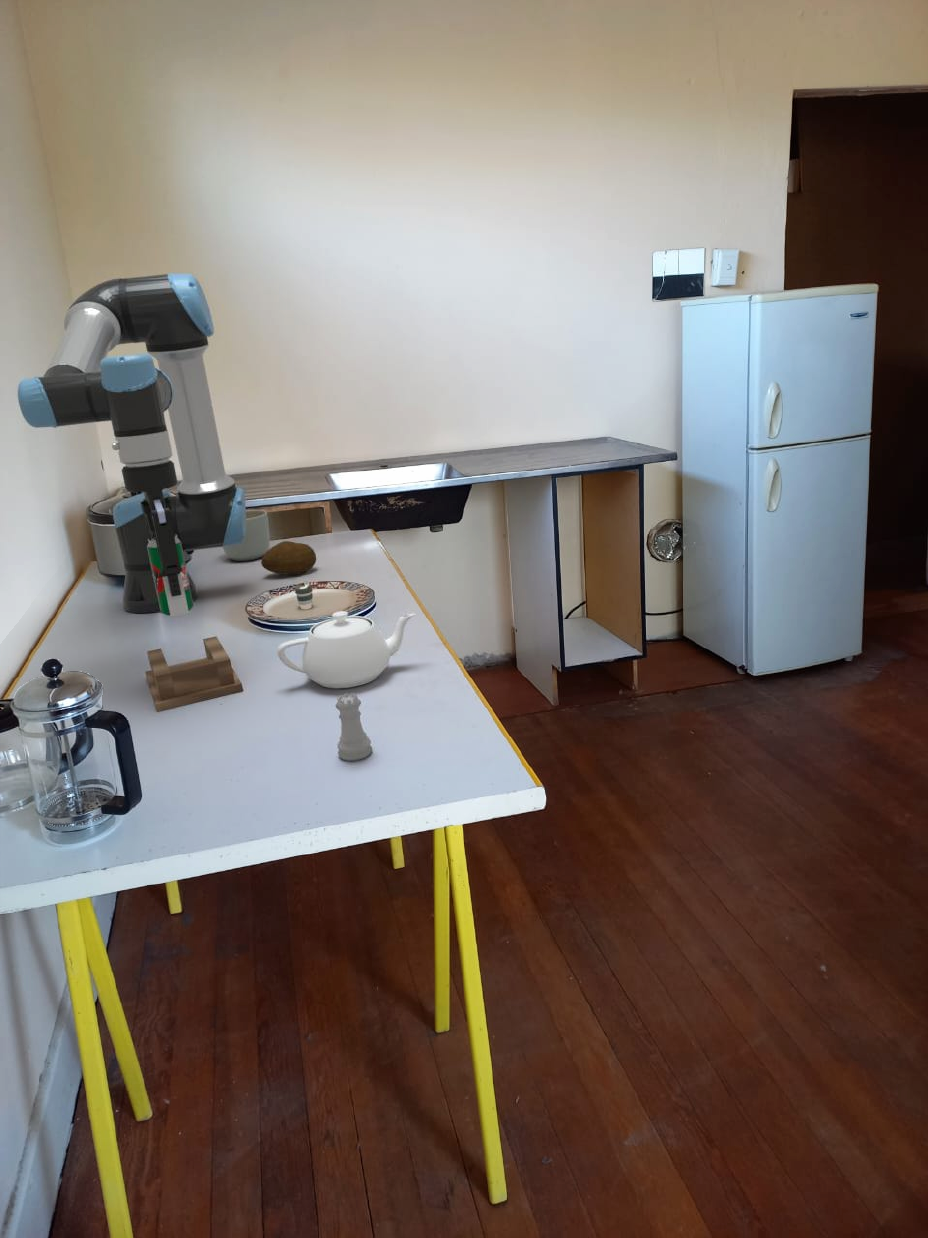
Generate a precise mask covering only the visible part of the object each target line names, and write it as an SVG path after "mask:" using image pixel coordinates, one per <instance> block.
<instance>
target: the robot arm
mask: <svg viewBox="0 0 928 1238" xmlns="http://www.w3.org/2000/svg"><path fill="white" fill-rule="evenodd" d="M63 325H64V334H63V335H62V337H61V339H60V342H59V344H58V346H57V347H56V350H55V352H54V354H53V357H52V358H51V361H50V363H49V364H48V367H47V369H46V371H45V373H44V374H43V376H34V377H31V378H24V379H23V380H21V381H19V384H18V386H17V400H18V405H19V409H20V411H21V414H22V417H23V418H24V420H25V422H26V423H27V424H28V425H29V426H31V427H33V428H37V429H38V428H40V429H41V428H55V429H56V428H59V427H67V426H74V425H76V426H77V425H82V424H92V423H99V422H111V425H112V430H113V435H114V437H115V438H114V439H115V441H116V443H114V442H113V443H112V444H111V447H112V451H118V452H117V453H118V457H119V462H120V463H121V464H123V465H124V466H122V469H121V474H122V478H123V484H124V488H125V490H126V491H127V492H128V493H134V494H135V493H139V494H136V495H133V496H130V497H126V498H124V499H122V500H120V501H118V502H117V503H116V504H115V505H114V506H113V508H112V513H113V516H112V517H113V521H114V522H113V523H114V525H113V526H114V527H113V528H115V532H116V537H117V541H118V545H119V549H120V554H121V559H122V562H123V565H124V566H123V568H124V571H125V575H124V585H123V593H122V603H123V607H124V610H125V611H127V612H128V613H135V614H147V613H148V614H149V613H159V612H161V611H160V607H159V602H158V597H157V592H156V588H155V583H154V578H153V573H152V569H151V564H150V559H149V555H148V550H147V545H148V543H149V541H148V539H149V538H152V537H155V540H156V544H157V549H158V553H159V558H160V562H161V566H162V573H159V574H158V576H159V578H160V577H162V578H163V582H164V587H165V592H166V597H167V602H168V606H169V611H170V617H171V618H173V617H178V616H184V615H187V614H190V611H188V606H187V601H186V596H185V591H184V586H183V581H182V576H181V573H180V572H181V571H182V570H181V569H182V568H181V566H180V562H179V557H178V552H177V547H176V542H175V537H174V534H176V535H177V538H178V539H179V540H180V541H181V544H182V549H183V552H189V551H196V550H204V549H212V548H214V549H215V548H221V547H222V548H223V547H225V546H229V545H235V544H239V543H241V542H242V541H243V540H244V538H245V532H246V510H247V509H246V496H245V491H244V489H243V488H240V487H236V483H235V479H234V478H233V477H231V476H230V475H228V474H227V473H226V472H225V471H226V470H225V466H224V465H225V464H224V460H223V459H224V458H223V455H222V451H221V450H222V449H221V445H220V438H219V434H218V430H217V429H218V427H217V425H216V419H215V414H214V409H213V403H212V398H211V393H210V387H209V382H208V377H207V373H206V367H205V362H204V353H205V352H206V350H207V349H208V347H209V345H210V344H209V340H208V338H210V337H211V336H213V335H214V334H215V328H214V324H213V320H212V314H211V311H210V307H209V304H208V301H207V299H206V295H205V293H204V290H203V288H202V286H201V284H200V282H199V280H198V279H197V277H195V276H194V275H193V274H190V273H165V274H156V275H155V274H154V275H146V276H135V277H127V278H126V277H125V278H112V279H109V280H105V281H103V282H101V283H99V284H97V285H95V286H93V287H91V288H89V289H88V290H87V291H85V292H84V293H82V294H81V295H80V296H79V297H78V298H77V299H76V300H74V302H73V303H72V304H71V305H70V306H69V308H68V310H67V311H66V314H65V316H64V320H63ZM133 343H134V344H138V343H145V346H146V353H140V354H130V355H129V354H128V355H118V356H117V355H116V356H108V354H109V352H111V351H112V350H114V348H116V347H117V346H119V345H125V344H133ZM153 358H154V359H155V360H156V361H157V364H158V368H156V367H155V361H154V359H153ZM166 411H168V416H169V417H168V418H169V421H170V424H171V429H172V435H173V439H174V444H175V449H176V454H177V458H178V462H179V468H180V472H181V477H182V479H181V480H182V481H181V482H180V484H179V485H178V486H177V487H176V490H177V494H178V495H174V496H171V494H170V493H169V491H168V489H170V488H173V487H175V486H176V485H177V484H178V478H177V473H176V469H175V468H176V467H175V462H173V461H172V460H170V458H172V456H173V449H172V445H171V440H170V435H169V430H168V428H167V423H166V418H165V412H166ZM171 565H172V566H171ZM187 575H188V580H189V585H190V590H191V595H192V600H193V602H194V601H195V600H196V599H198V590H197V586H196V584H195V582H194V580H193V579H192V577H191V575H190V574H189V571H187Z"/></svg>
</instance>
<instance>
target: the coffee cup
mask: <svg viewBox="0 0 928 1238" xmlns="http://www.w3.org/2000/svg"><path fill="white" fill-rule="evenodd" d="M313 591H314V590H313V587H312V584H301V585H297V586H296V587H295V590H294V593H295V594H296V599H297V603H298V605H299V604H300V605H306V604H310V603H312V604H313Z"/></svg>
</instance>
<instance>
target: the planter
mask: <svg viewBox="0 0 928 1238" xmlns="http://www.w3.org/2000/svg"><path fill="white" fill-rule="evenodd" d="M270 539H271V538H270V525H269V517H268V513H267V511H266V510H264V509H246V532H245V538H244V540H243V541H242V542H241V543H239V544H235V545H229V546H225V547H222V549H223V551H224V554H225V555H226V556H227V557H228V558H229V559H231V560H234V561H236V562H249V561H253V560H254V561H255V560H257V559H260V558H263V556H264V555H265V554H266V553H267V552H268V551H269V550H270V544H271V541H270Z"/></svg>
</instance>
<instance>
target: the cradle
mask: <svg viewBox="0 0 928 1238" xmlns="http://www.w3.org/2000/svg"><path fill="white" fill-rule="evenodd" d="M202 640H203V646H204V651H205V657H204V658H200V659H195V660H191V661H187V662H185V661H184V662H181V663H177V664H172V665H168V663H167V661H166V658H165V655H164V653H163V650H162V648H156V649H151V650H148V651H146V653H147V658H148V662H149V666H150V667H149V668H150V670H146V671H144V672H145V676H146V680H147V684H148V686H149V691H150V694H151V697H152V700H153V703H154V706H155V709H156V712H162V711H165V710H169V709H174V708H178V707H179V708H180V707H182V706H187V705H191V704H194V703H198V702H203V701H207V700H211V699H215V698H219V697H223V696H224V697H225V696H227V695H228V696H229V695H231V694H237V693H240V692H244V687H243V683H242V681H241V680H240V678H239V676H238V675H237V673H236V672H235V669H234V668H233V666H232V665H233V664H232V660H231V658H230V656H229V654H228V653H227V651H226V649H225V648H224V647H223V645H222V643H221V642H220V640H219V638H218V637H217V636H211V637H207V638H203V639H202Z"/></svg>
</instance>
